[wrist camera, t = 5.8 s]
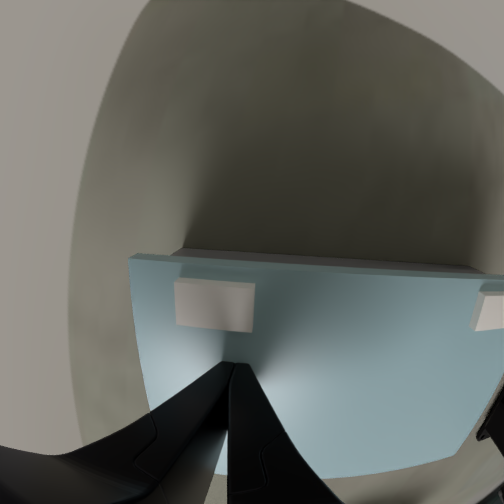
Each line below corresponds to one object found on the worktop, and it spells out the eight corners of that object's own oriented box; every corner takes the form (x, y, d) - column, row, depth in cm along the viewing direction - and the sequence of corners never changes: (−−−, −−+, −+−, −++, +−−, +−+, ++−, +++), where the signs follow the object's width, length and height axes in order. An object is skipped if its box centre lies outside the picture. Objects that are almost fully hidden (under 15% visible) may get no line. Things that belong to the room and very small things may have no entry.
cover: (526, 275, 7) (542, 283, 6) (450, 447, 9) (456, 460, 8) (137, 253, 8) (121, 262, 7) (168, 454, 10) (162, 470, 9)
